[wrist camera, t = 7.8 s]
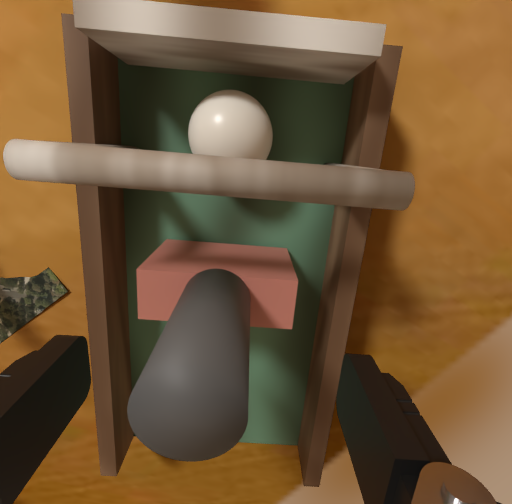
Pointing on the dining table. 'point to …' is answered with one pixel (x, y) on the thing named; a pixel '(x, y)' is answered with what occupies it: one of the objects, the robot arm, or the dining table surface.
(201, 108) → the ball
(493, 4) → the dining table surface
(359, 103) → the pitch
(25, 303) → the eiffel tower figurine
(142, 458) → the dining table surface
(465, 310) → the dining table surface
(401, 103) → the dining table surface
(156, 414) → the striker
